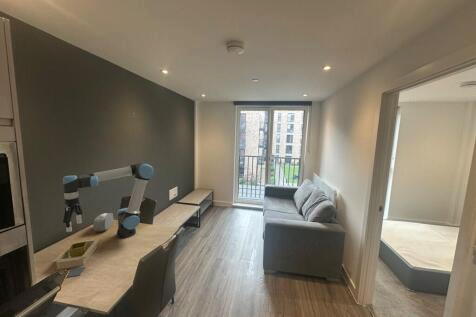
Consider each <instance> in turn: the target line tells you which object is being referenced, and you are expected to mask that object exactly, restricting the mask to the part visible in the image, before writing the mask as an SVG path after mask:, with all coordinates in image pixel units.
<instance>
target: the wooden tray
mask: <svg viewBox="0 0 476 317" xmlns="http://www.w3.org/2000/svg"><path fill="white" fill-rule="evenodd" d="M85 241H87V248H86V252H85V253H84V255H83V256H80V257H74V258H71V256H70V253H69V248H70V247H71V245H72V244H75V243H80V242H85ZM99 242H100V239H97V238H94V239H93V238H92V239H87V240H77V241H76V242H72V243H70V244H69V245H68V246H67V247H66V248H65V249H63V251H62V252H61V253H60V254H59V255H57V257H55V258H54V259H53V261H52V262H53V263H54V262H55V263H56V269H57V270H63V269H70V268H77V267H83V266H84V265H85V264H86V263H87V262H88V260H90V257H91V256H92V255H93V254H94V252H95V250H96V249H97V248H98V243H99Z"/></svg>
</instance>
